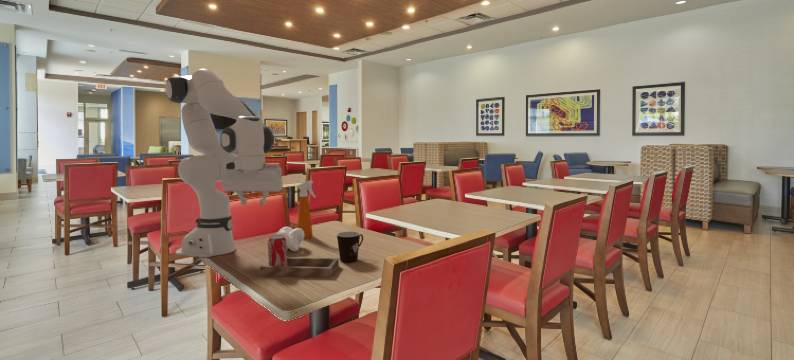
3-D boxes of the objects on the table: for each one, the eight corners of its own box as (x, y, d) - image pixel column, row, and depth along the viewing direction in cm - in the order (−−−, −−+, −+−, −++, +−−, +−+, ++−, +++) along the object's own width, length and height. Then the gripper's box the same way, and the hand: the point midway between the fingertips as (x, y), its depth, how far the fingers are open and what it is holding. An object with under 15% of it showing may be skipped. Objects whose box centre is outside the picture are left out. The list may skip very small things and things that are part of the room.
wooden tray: (260, 275, 140) (260, 266, 140) (273, 265, 151) (272, 256, 151) (331, 277, 138) (330, 268, 138) (338, 266, 149) (338, 258, 149)
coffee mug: (342, 265, 151) (341, 238, 150) (334, 258, 158) (333, 233, 157) (371, 260, 156) (371, 234, 155) (362, 254, 164) (362, 229, 163)
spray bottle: (311, 240, 186) (309, 181, 184) (293, 237, 192) (291, 180, 189) (322, 237, 192) (320, 180, 189) (304, 234, 198) (303, 178, 195)
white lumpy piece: (267, 252, 168) (266, 230, 167) (284, 245, 179) (283, 224, 178) (292, 254, 164) (291, 232, 163) (307, 247, 176) (307, 226, 175)
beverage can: (282, 273, 142) (281, 239, 140) (265, 272, 143) (264, 238, 142) (290, 268, 148) (289, 234, 146) (274, 267, 149) (273, 234, 148)
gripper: (284, 163, 144) (286, 202, 146) (227, 163, 146) (229, 202, 147) (278, 164, 138) (279, 206, 140) (218, 164, 140) (220, 205, 141)
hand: (253, 204), depth 144 cm, fingers open, 5 cm apart
